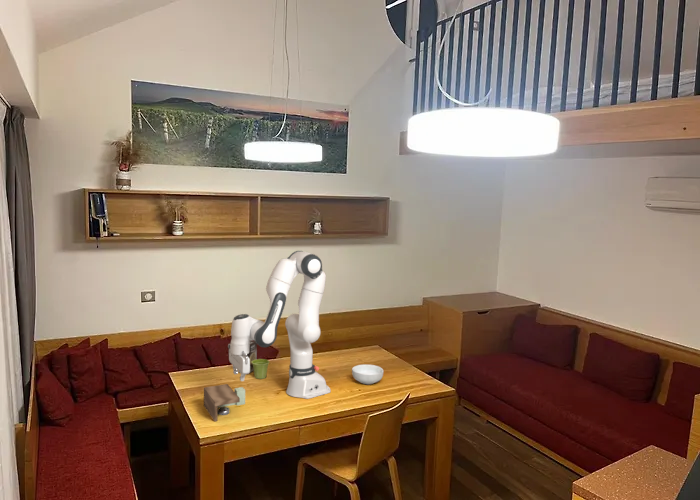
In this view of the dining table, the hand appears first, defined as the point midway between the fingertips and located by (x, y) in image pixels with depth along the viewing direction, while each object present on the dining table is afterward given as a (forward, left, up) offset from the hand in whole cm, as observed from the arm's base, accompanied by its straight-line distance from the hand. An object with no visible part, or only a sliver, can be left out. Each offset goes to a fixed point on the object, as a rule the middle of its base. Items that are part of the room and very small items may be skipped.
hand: (238, 377), depth 262 cm
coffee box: (-19, -41, -13) cm, 47 cm away
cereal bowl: (-72, 0, -13) cm, 73 cm away
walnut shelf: (+10, +5, -13) cm, 17 cm away
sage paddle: (+5, 0, -13) cm, 14 cm away
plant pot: (-22, -29, -13) cm, 38 cm away
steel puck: (+9, +7, -13) cm, 18 cm away
